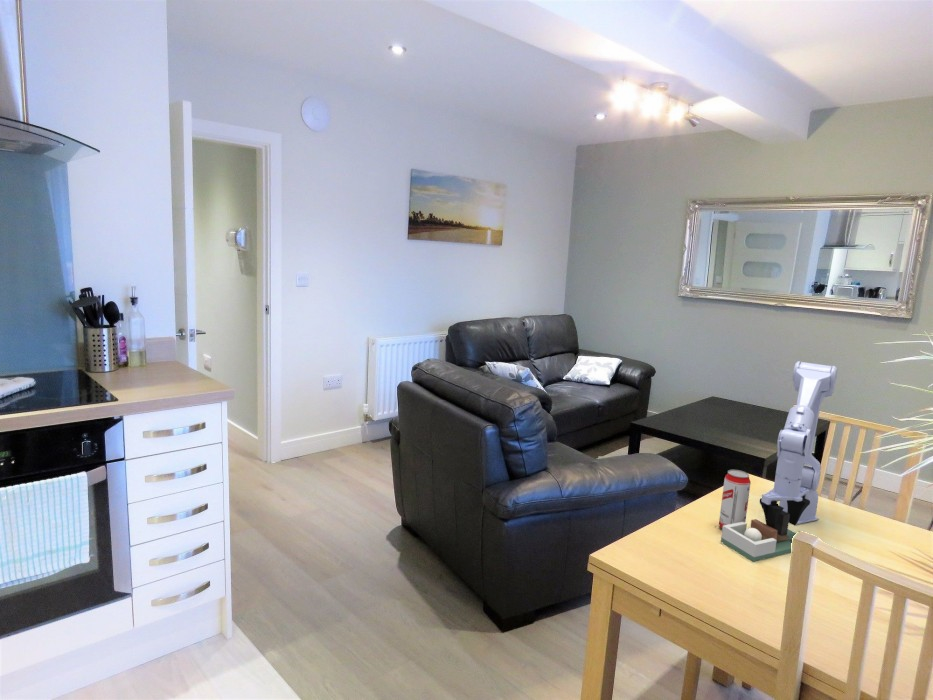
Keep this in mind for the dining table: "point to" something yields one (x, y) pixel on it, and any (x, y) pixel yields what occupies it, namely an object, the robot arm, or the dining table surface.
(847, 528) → the dining table surface
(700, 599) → the dining table surface
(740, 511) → the beer can
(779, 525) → the slider
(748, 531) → the ball
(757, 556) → the pitch
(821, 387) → the robot arm
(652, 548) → the dining table surface
